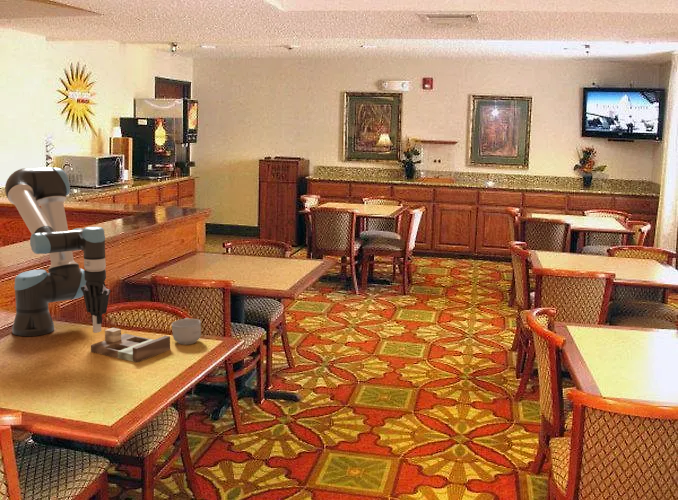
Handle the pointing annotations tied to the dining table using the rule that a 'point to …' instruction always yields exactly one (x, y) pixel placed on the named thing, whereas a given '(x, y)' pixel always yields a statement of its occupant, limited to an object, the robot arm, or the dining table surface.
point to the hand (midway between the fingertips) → (97, 331)
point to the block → (112, 334)
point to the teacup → (186, 331)
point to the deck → (132, 347)
